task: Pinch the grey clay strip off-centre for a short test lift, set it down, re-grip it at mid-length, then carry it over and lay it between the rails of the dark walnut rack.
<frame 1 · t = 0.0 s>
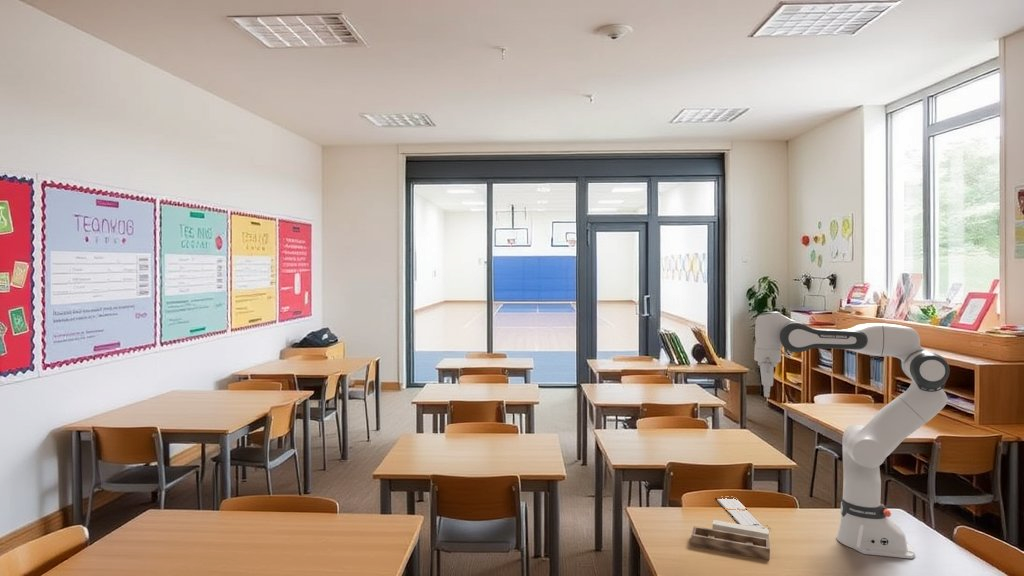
hand: (766, 394, 213), 48 cm above the table, tool pointing down, fingers open, 8 cm apart
walnut rack: (729, 547, 196), on the table
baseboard: (741, 515, 226), on the table
clay strip: (740, 538, 204), on the table
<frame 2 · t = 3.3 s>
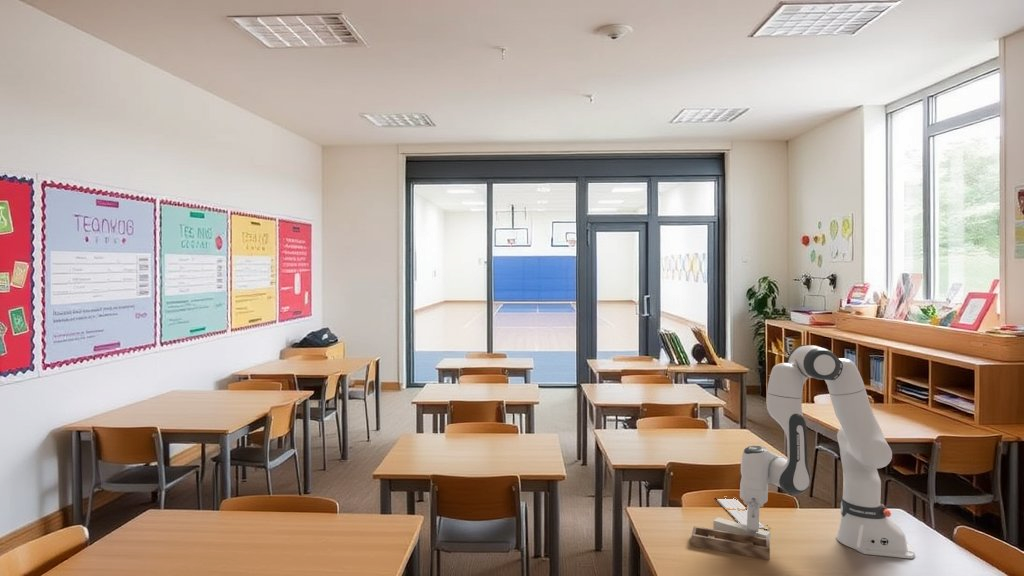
hand: (752, 534, 203), 2 cm above the table, tool pointing down, fingers open, 6 cm apart
clay strip: (741, 537, 205), on the table, touching gripper
everything else where it was.
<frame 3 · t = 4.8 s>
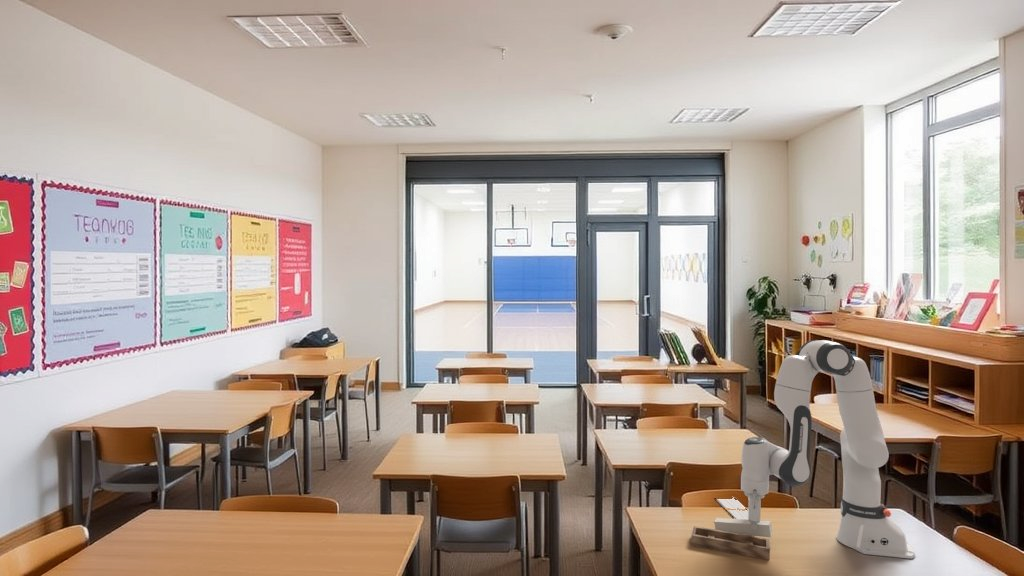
hand: (753, 525, 203), 5 cm above the table, tool pointing down, fingers closed on clay strip, 4 cm apart
clay strip: (743, 533, 204), point 1 cm above the table, tilted 9°, touching gripper
everything else where it was.
when the fingers open (2 cm above the table, at t = 5.8 s): clay strip stays where it is, on the table.
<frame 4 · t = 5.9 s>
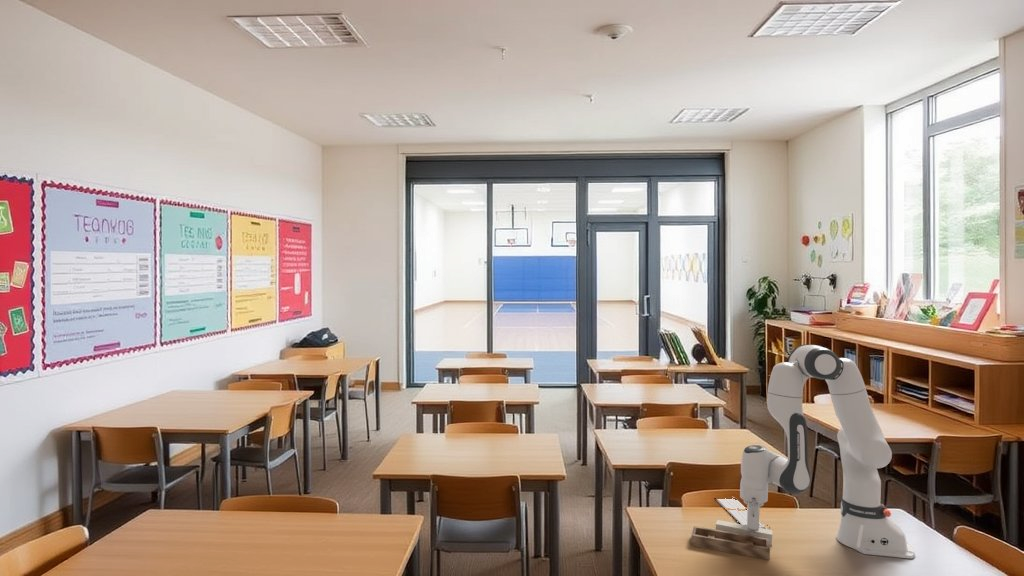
hand: (752, 533, 203), 2 cm above the table, tool pointing down, fingers open, 4 cm apart
clay strip: (743, 538, 204), on the table
everything else where it was.
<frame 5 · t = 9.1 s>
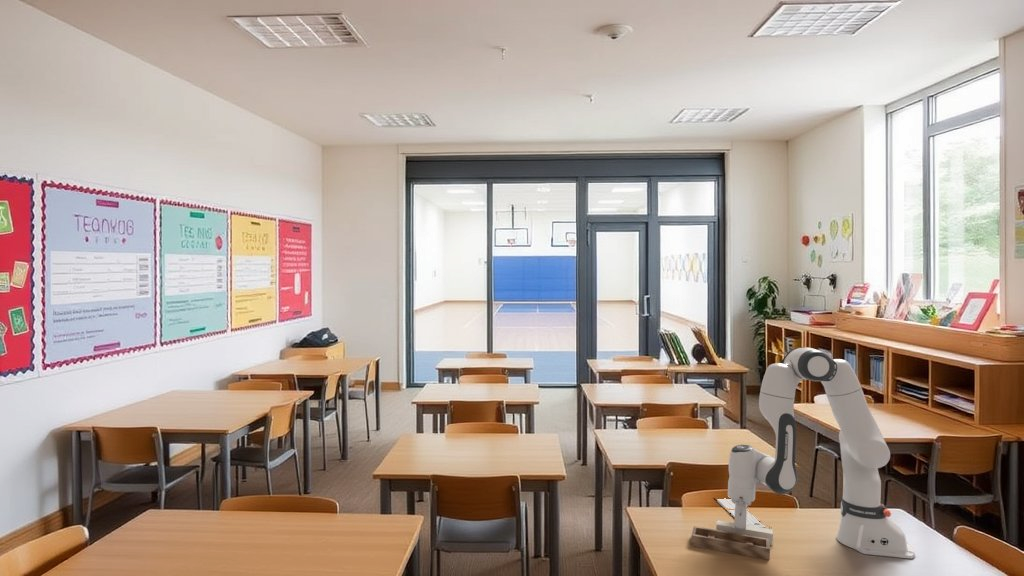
hand: (740, 532, 204), 2 cm above the table, tool pointing down, fingers closed on clay strip, 4 cm apart
clay strip: (743, 538, 204), on the table, touching gripper
everything else where it was.
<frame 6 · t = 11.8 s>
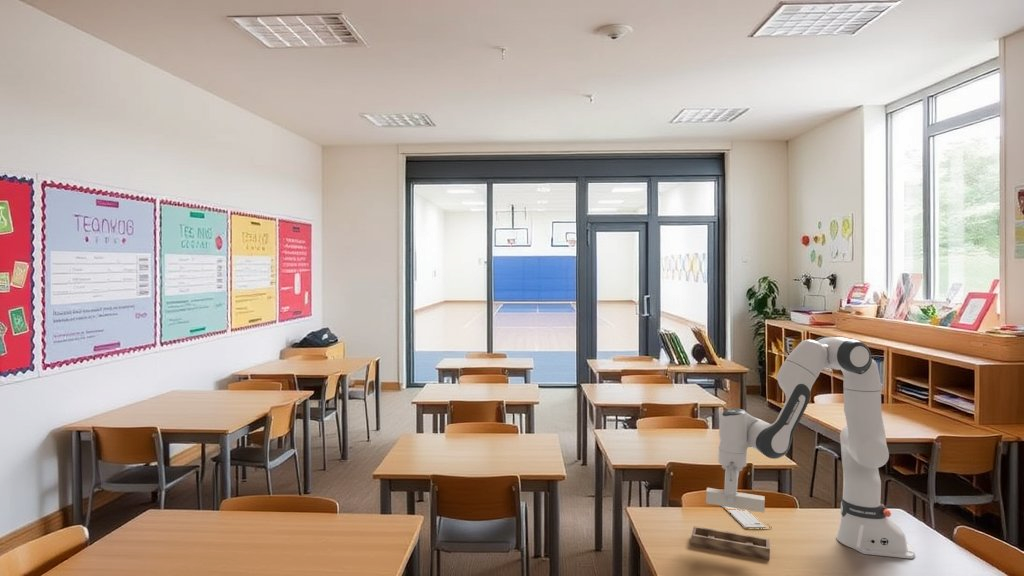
hand: (731, 499, 196), 16 cm above the table, tool pointing down, fingers closed on clay strip, 4 cm apart
clay strip: (734, 505, 196), point 14 cm above the table, touching gripper
everything else where it was.
when the fingers open (5 cm above the table, at t = 13.9 s): clay strip drops 1 cm, resting on walnut rack.
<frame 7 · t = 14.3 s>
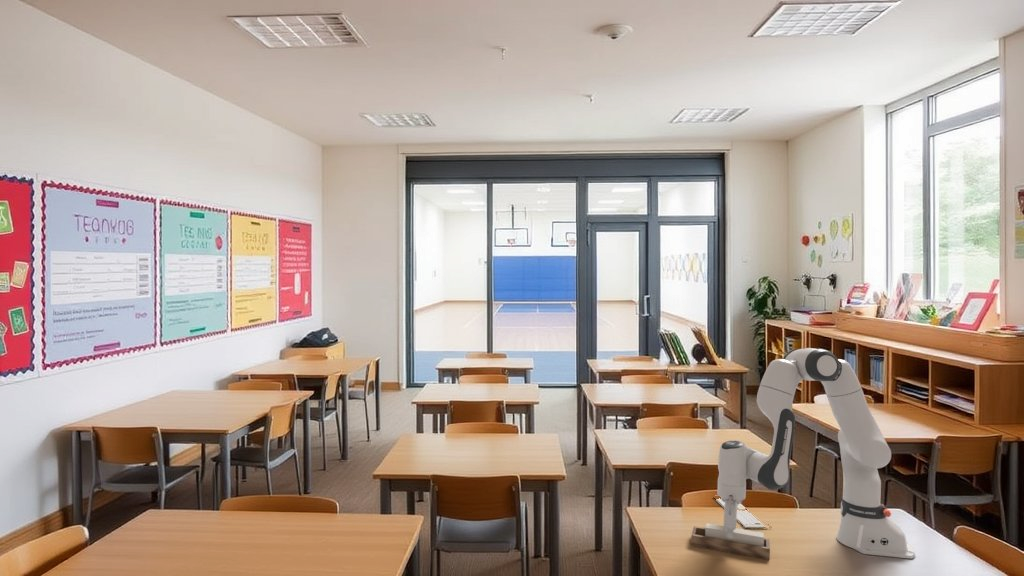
hand: (730, 532, 196), 5 cm above the table, tool pointing down, fingers open, 8 cm apart
clay strip: (734, 542, 196), point 2 cm above the table, touching walnut rack
everything else where it was.
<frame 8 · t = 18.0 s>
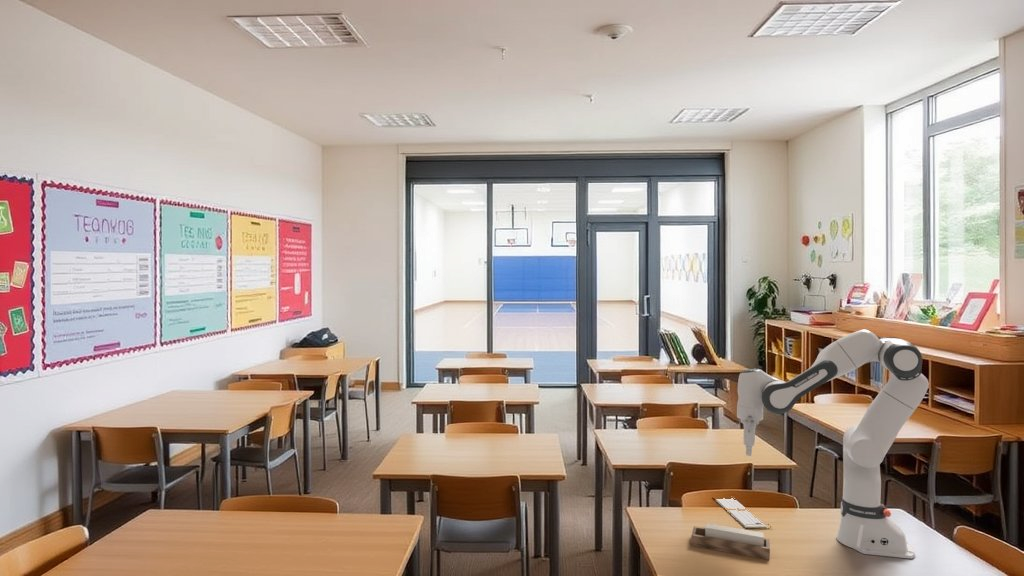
hand: (748, 451, 213), 27 cm above the table, tool pointing down, fingers open, 8 cm apart
nothing on the table moved.
at the end: clay strip 1.2 cm off-centre on the walnut rack, point 2.0 cm above the walnut rack's base; clay strip tilted 0°; the gripper is holding nothing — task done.
